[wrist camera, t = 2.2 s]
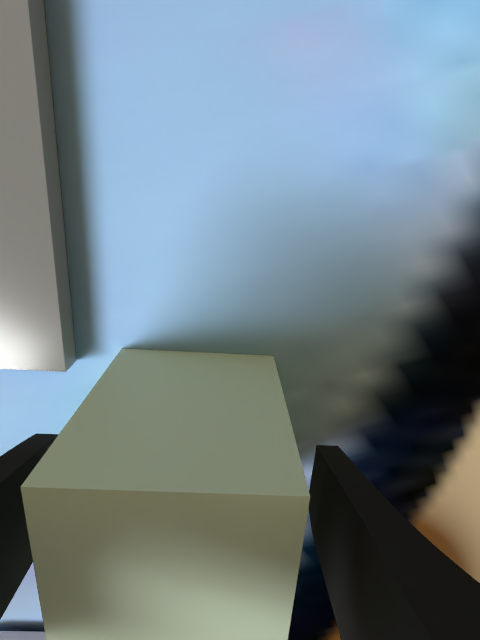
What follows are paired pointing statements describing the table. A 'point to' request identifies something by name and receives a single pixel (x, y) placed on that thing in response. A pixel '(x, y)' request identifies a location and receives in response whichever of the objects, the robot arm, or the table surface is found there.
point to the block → (171, 504)
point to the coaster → (30, 201)
